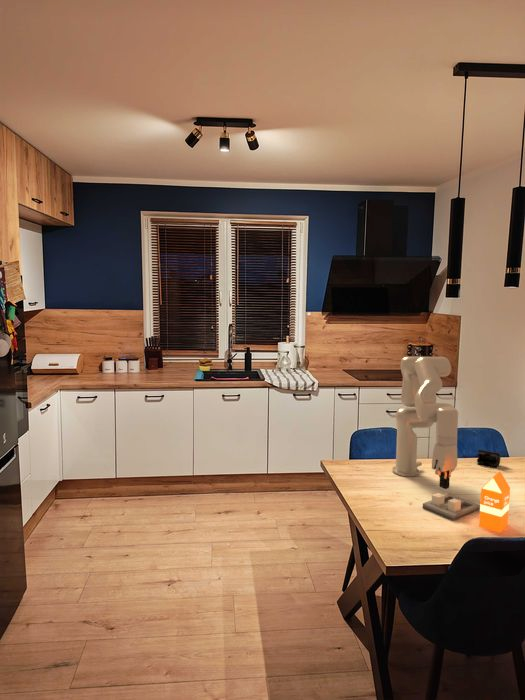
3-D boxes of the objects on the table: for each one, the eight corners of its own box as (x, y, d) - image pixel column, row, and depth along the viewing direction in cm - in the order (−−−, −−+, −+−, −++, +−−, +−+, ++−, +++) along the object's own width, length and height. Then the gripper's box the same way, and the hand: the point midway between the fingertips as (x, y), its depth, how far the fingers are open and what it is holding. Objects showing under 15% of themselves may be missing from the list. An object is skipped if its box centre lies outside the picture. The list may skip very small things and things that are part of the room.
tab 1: (437, 503, 207) (438, 492, 207) (444, 505, 205) (444, 495, 204) (431, 505, 205) (432, 495, 204) (437, 507, 202) (438, 497, 202)
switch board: (449, 498, 215) (449, 493, 215) (480, 509, 204) (480, 504, 204) (422, 508, 205) (422, 503, 205) (453, 520, 194) (453, 515, 193)
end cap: (500, 465, 258) (501, 452, 258) (497, 468, 253) (497, 455, 252) (479, 461, 264) (480, 448, 263) (475, 464, 259) (476, 451, 258)
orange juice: (508, 524, 191) (511, 473, 189) (500, 532, 184) (504, 479, 182) (486, 518, 196) (489, 468, 194) (478, 526, 189) (481, 474, 187)
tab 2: (453, 508, 202) (454, 498, 201) (460, 511, 199) (461, 500, 199) (447, 511, 200) (448, 500, 199) (454, 513, 197) (454, 503, 197)
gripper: (449, 435, 199) (447, 481, 201) (425, 441, 190) (423, 488, 192) (466, 439, 193) (464, 486, 195) (442, 445, 184) (440, 494, 186)
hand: (444, 487), depth 193 cm, fingers closed
